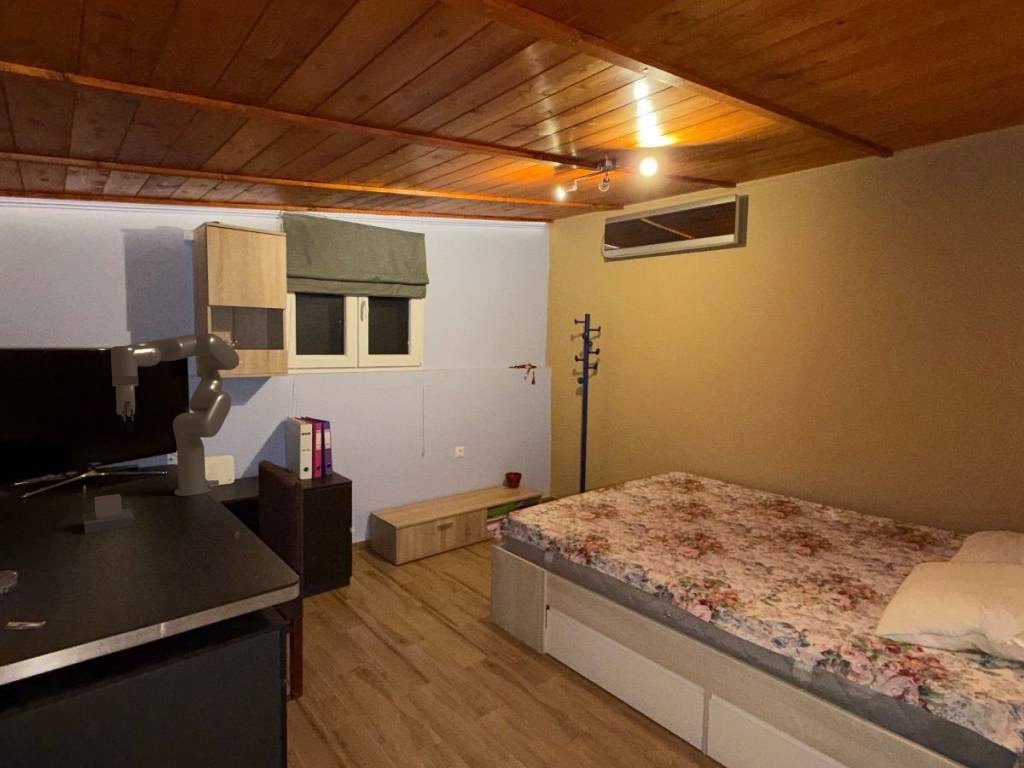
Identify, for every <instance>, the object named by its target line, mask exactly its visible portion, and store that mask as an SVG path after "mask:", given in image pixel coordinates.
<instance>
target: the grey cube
mask: <svg viewBox="0 0 1024 768" xmlns="http://www.w3.org/2000/svg"><path fill="white" fill-rule="evenodd" d="M122 509H123V508H122V497H121V495H120V493H116V494H109V495H108V494H107V495H100V496H95V497H94V513H95V516H96V520H101V519H108V518H114V517H121V516H122Z"/></svg>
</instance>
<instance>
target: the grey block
mask: <svg viewBox="0 0 1024 768" xmlns="http://www.w3.org/2000/svg"><path fill="white" fill-rule="evenodd" d="M82 516H83V517H82V519H83V528H84V534H92V533H99V532H106V531H112V530H118V529H123V528H130V527H135V516H134V514H133V511H132V509H131V508H124V509H123V508H122V516H121V517H114V518H108V519H101V520H96V516H95V512H94V513H90V514H89V513H88V514H83V515H82Z"/></svg>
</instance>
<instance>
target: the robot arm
mask: <svg viewBox="0 0 1024 768" xmlns="http://www.w3.org/2000/svg"><path fill="white" fill-rule="evenodd" d="M110 349H111V350H110V359H111V360H110V361H111V376H112V377H111V379H112V380H111V382H112V383H111V384H112V387H115V403H116V414H117V415H118V416H120V430H121V431H122V432H123V433H124V434H126V433H127V434H129V433H135V429H136V428H135V420H134V415H135V413H136V393H135V392H136V391H135V390H136V389H135V387H137V386H139V375H138V374H139V373H138V367H152V366H156V365H158V364H159V363H160V362H171V361H177V360H178V361H179V360H181V359H186V358H190V357H195V356H197V365H198V367H199V370H200V371H199V372H200V375H201V376H200V380H199V383H198V385H197V386H196V389H195V390H194V392H193V393H192V396H191V397H190V400H189V403H188V407H189V410H190V411H191V412H183V413H180V414H177V416H176V417H175V418H174V419H173V422H172V429H173V433H174V437H175V442H176V452H177V454H176V455H177V456H176V457H177V459H176V460H177V477H178V479H177V481H178V488H177V489H175V490H174V492H173V494H174V495H175V496H179V497H180V496H181V497H182V496H183V497H185V496H187V497H188V496H196V495H198V496H199V495H202V494H207V493H209V492H210V491H211V486H218V485H220V481H219V479H216V480H214V479H213V480H212V479H211V480H208V479H207V478H206V462H205V461H206V459H205V457H206V456H205V455H206V454H205V445H204V442H203V439H202V438H213V437H215V436H216V435H217V434H218V433H219V432H220V430H221V428H222V426H223V425H224V422H225V420H226V418H227V416H228V414H229V412H230V410H231V408H232V407H231V406H232V398H231V396H230V394H228V393H227V392H226V391H223V390H222V388H223V386H224V383H223V379H222V377H221V374H220V371H232V370H235V369H236V368H238V366H239V363H240V356H239V354H238V352H236V350H235V349H234V348H233V347H232V346H230V344H228V343H227V342H226V341H225V340H224V339H223V338H221V337H220V336H219V335H216V334H215V333H191V334H186V335H181V336H176V337H175V336H173V337H169V338H162V339H157V340H151V341H143V342H137V343H131V344H128V345H115V346H113V347H111V348H110Z"/></svg>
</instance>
